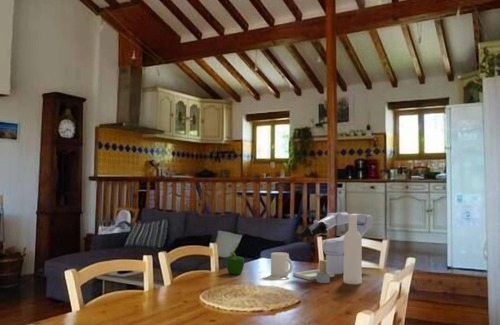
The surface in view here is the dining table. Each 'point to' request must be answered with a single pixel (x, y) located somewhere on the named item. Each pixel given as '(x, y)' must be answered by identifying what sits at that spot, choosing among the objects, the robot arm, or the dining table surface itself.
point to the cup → (323, 278)
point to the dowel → (323, 267)
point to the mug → (280, 264)
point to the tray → (310, 274)
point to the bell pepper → (235, 264)
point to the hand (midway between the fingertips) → (307, 234)
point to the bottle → (352, 253)
